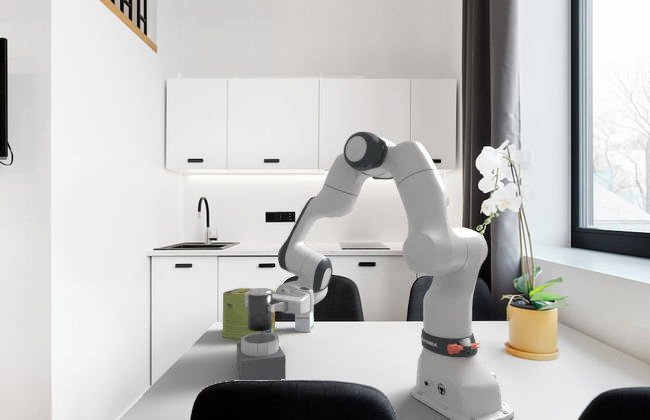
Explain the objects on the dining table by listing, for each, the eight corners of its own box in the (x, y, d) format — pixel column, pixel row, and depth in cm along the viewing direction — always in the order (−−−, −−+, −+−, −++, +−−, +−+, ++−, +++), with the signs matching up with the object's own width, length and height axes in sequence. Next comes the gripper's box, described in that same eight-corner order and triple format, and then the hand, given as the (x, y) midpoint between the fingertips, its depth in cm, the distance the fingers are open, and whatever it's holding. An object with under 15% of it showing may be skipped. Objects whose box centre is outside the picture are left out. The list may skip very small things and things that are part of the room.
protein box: (262, 342, 126) (262, 295, 126) (222, 337, 131) (222, 292, 131) (275, 332, 136) (275, 289, 136) (237, 328, 141) (238, 287, 141)
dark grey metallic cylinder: (274, 329, 100) (274, 291, 100) (249, 332, 98) (249, 293, 98) (270, 323, 106) (270, 287, 106) (246, 325, 104) (246, 288, 104)
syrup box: (310, 332, 136) (310, 292, 136) (294, 331, 137) (294, 291, 137) (314, 328, 142) (314, 289, 142) (298, 327, 143) (298, 288, 143)
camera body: (285, 379, 97) (285, 344, 97) (241, 385, 93) (241, 349, 93) (275, 360, 110) (275, 328, 110) (236, 364, 106) (236, 332, 107)
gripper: (263, 283, 118) (230, 291, 107) (317, 290, 108) (287, 299, 96) (263, 303, 118) (230, 313, 107) (317, 312, 107) (287, 324, 96)
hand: (257, 307), depth 101 cm, fingers closed on dark grey metallic cylinder, 6 cm apart
